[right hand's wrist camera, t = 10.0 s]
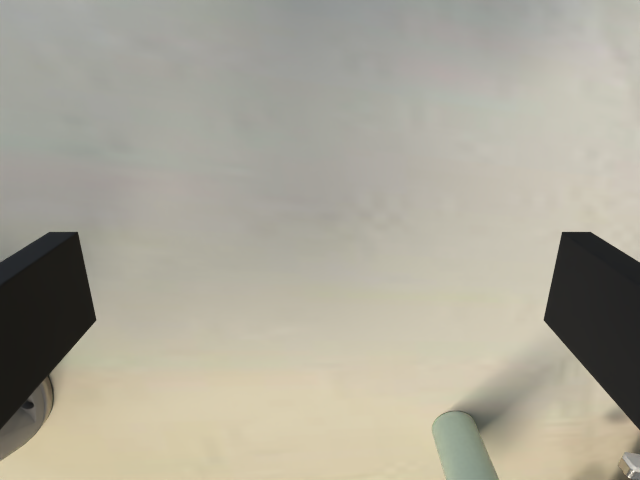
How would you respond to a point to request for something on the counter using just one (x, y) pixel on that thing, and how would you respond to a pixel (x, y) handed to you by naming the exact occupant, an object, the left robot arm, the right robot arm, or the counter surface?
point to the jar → (461, 448)
